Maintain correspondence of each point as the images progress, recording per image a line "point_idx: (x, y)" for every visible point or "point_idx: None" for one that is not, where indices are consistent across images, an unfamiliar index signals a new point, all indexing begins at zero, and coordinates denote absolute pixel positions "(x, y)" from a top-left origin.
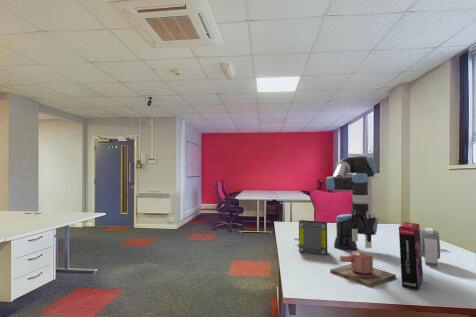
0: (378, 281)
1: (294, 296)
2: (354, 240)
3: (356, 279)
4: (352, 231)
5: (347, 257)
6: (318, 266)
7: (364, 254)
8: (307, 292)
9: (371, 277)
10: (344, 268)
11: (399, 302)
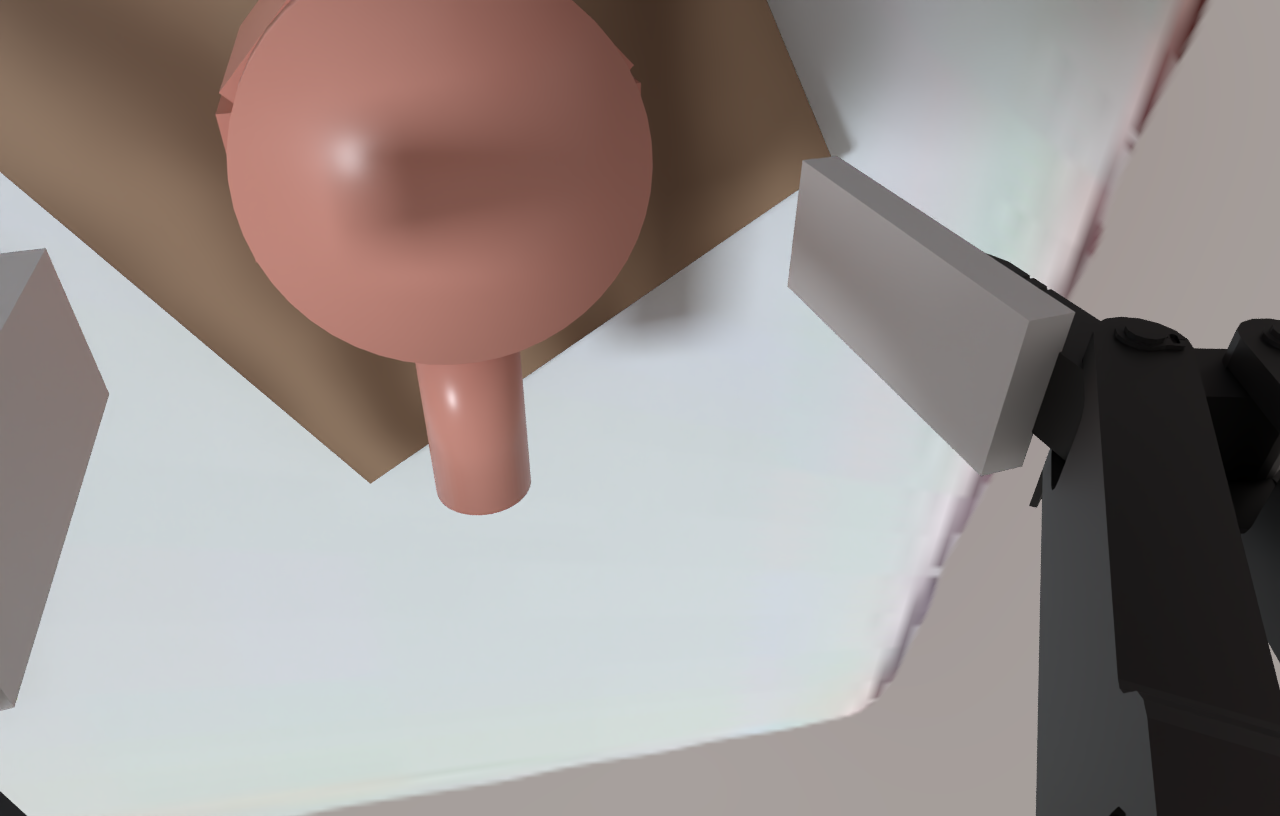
0: (763, 2)
1: (862, 687)
2: (85, 361)
3: (681, 264)
4: (26, 622)
5: (516, 423)
6: (142, 559)
7: (501, 141)
8: (826, 634)
9: (652, 47)
10: (290, 304)
11: (1151, 32)
